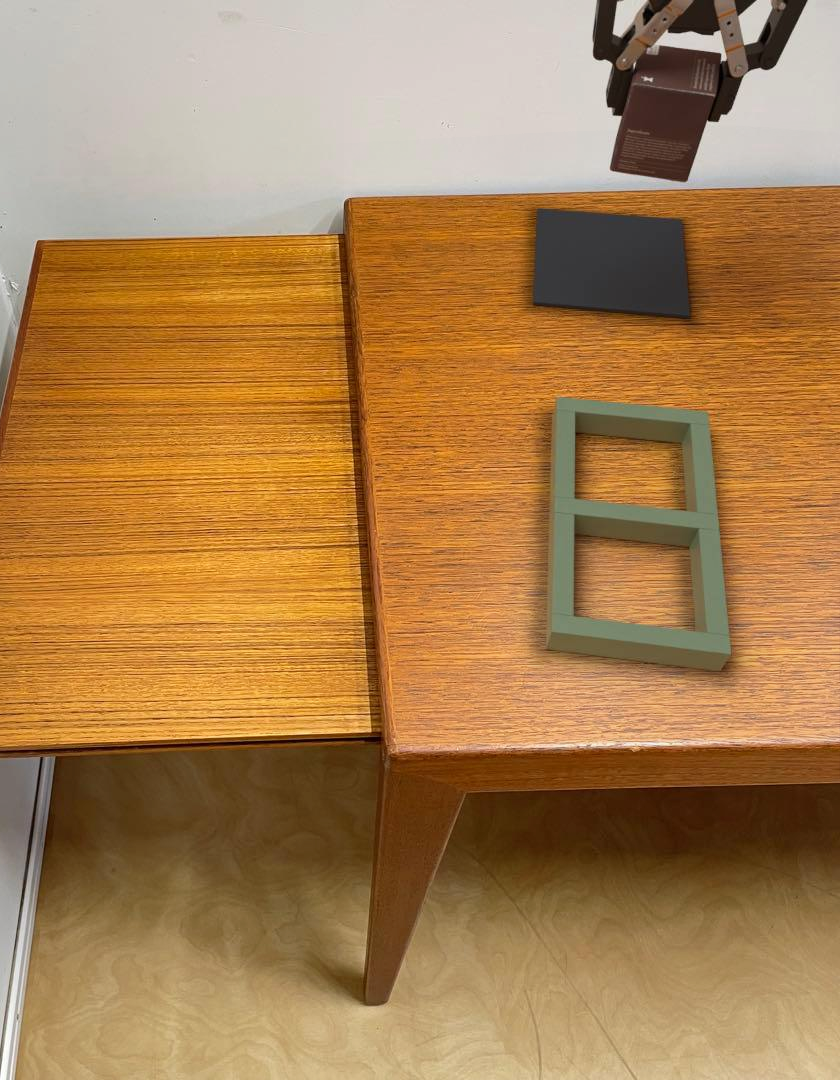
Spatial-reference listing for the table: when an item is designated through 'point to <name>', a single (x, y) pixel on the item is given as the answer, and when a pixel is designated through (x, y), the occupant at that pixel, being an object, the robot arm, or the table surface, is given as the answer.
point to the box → (666, 112)
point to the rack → (637, 536)
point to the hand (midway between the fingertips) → (663, 112)
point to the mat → (610, 263)
